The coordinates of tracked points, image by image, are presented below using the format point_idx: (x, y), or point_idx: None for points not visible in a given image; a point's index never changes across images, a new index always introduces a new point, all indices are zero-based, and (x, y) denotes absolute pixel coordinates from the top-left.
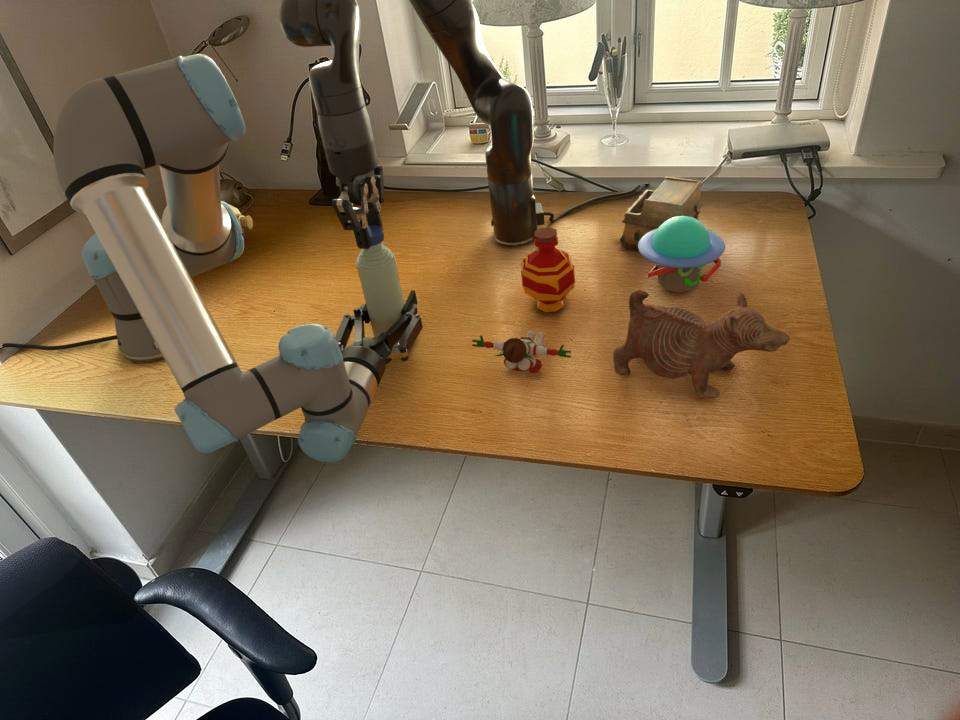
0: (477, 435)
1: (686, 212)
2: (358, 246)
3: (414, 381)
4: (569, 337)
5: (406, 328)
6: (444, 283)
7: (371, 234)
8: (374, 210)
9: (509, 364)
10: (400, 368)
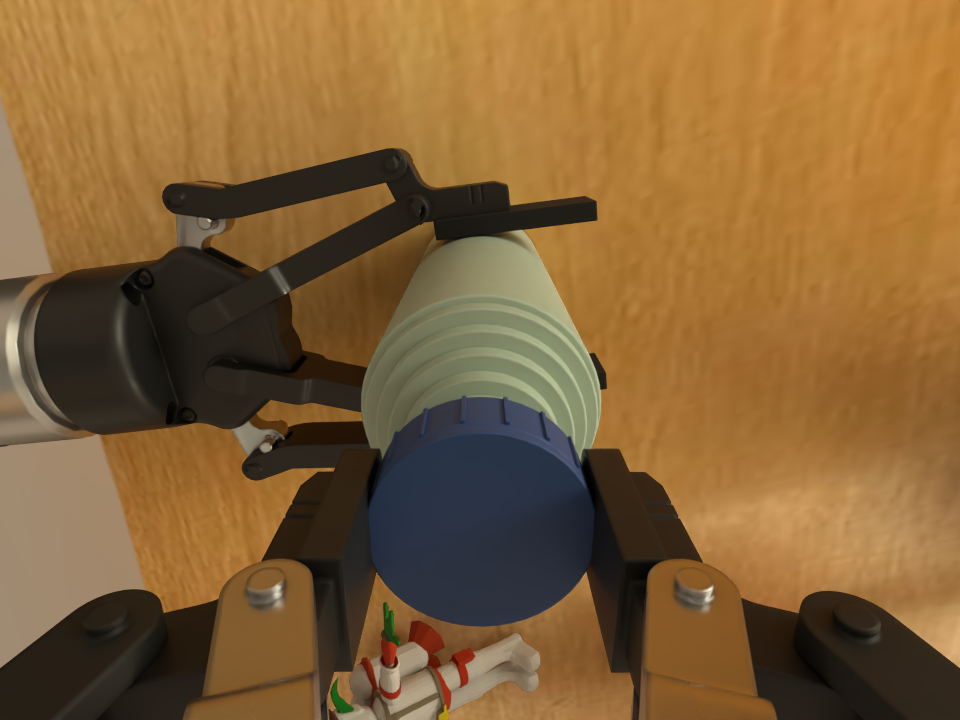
0: (185, 600)
1: None
2: (317, 478)
3: (318, 405)
4: (566, 698)
5: (359, 444)
6: (843, 318)
7: (430, 574)
8: (636, 673)
9: (350, 682)
10: (362, 344)
